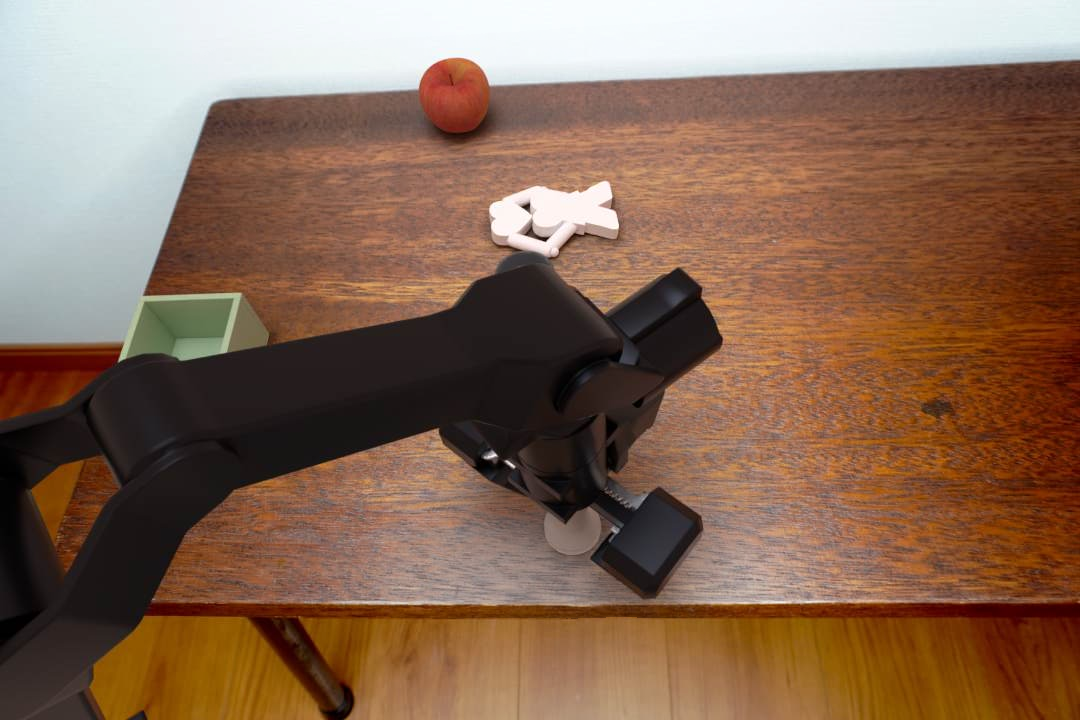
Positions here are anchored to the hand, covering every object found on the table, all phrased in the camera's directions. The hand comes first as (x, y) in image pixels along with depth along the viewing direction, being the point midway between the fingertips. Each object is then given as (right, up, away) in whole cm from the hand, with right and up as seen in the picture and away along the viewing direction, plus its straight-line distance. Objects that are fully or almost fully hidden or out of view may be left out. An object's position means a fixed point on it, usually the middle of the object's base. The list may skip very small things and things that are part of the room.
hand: (571, 521), depth 62 cm
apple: (-11, +38, +26) cm, 47 cm away
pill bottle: (-3, +13, +11) cm, 17 cm away
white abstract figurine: (-1, +26, +18) cm, 31 cm away
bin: (-32, +10, +11) cm, 35 cm away
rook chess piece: (0, -1, +2) cm, 2 cm away
